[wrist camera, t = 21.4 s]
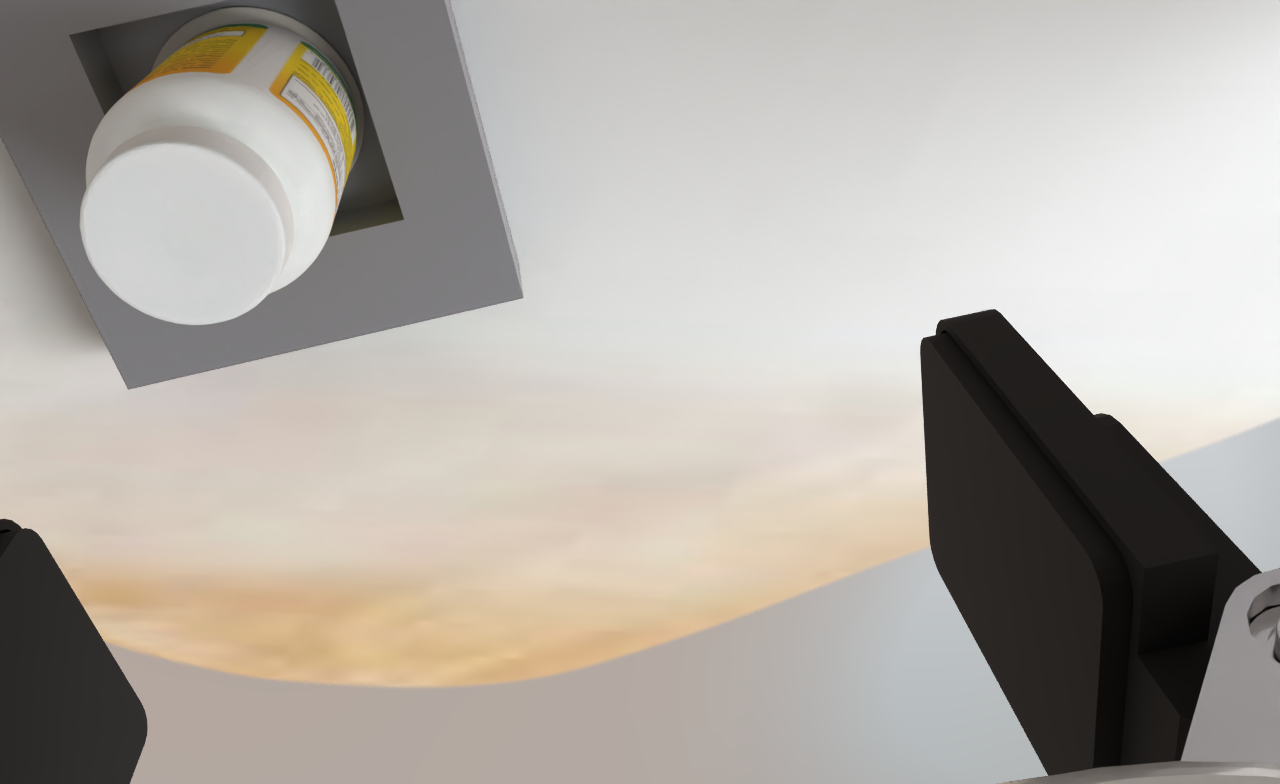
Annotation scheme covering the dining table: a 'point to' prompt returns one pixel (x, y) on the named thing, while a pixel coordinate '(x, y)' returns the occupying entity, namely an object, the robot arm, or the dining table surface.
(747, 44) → the dining table surface
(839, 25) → the dining table surface
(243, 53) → the supplement bottle
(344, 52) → the block
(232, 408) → the dining table surface
